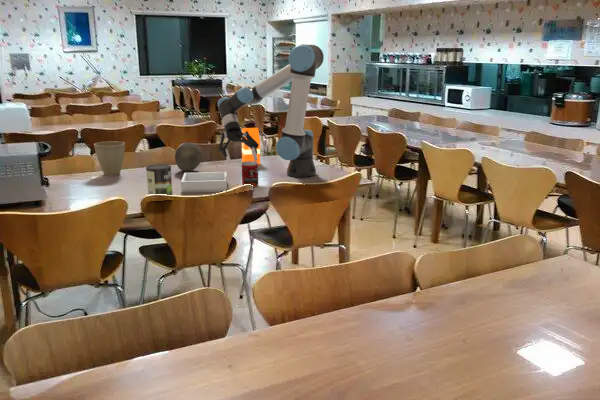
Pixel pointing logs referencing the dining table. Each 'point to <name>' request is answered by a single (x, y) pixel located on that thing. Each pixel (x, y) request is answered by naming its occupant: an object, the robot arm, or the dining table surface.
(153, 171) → the coffee can
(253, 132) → the orange juice
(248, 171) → the canned food
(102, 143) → the plant pot
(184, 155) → the cantaloupe
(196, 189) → the tray
